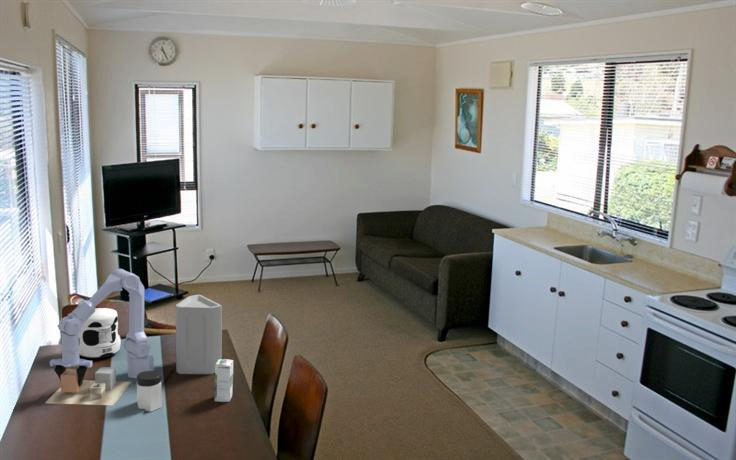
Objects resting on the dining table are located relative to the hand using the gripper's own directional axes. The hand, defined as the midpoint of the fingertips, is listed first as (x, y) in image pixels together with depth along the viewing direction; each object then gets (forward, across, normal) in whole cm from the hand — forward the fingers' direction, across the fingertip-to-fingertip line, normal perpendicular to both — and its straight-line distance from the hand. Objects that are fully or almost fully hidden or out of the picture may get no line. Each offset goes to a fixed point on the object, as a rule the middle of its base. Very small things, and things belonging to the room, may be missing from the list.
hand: (72, 384), depth 241 cm
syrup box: (+4, +55, +1) cm, 55 cm away
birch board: (+4, +6, +1) cm, 7 cm away
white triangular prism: (+4, +38, +28) cm, 47 cm away
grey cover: (+3, +10, +6) cm, 12 cm away
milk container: (+4, -5, +40) cm, 41 cm away
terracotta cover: (+2, 0, 0) cm, 2 cm away
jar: (+4, +30, -7) cm, 31 cm away
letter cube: (+3, +10, -2) cm, 11 cm away
